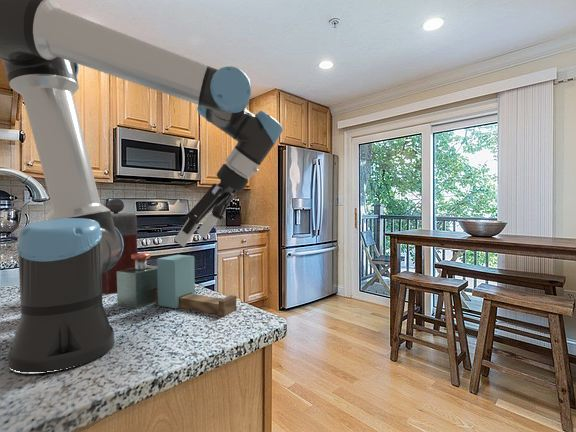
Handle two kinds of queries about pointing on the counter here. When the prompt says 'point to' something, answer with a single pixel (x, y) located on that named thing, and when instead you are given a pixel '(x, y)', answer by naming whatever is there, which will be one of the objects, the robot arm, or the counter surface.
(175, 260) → the carriage
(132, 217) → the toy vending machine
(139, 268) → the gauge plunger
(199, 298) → the rail
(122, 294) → the grey button housing
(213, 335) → the counter surface
